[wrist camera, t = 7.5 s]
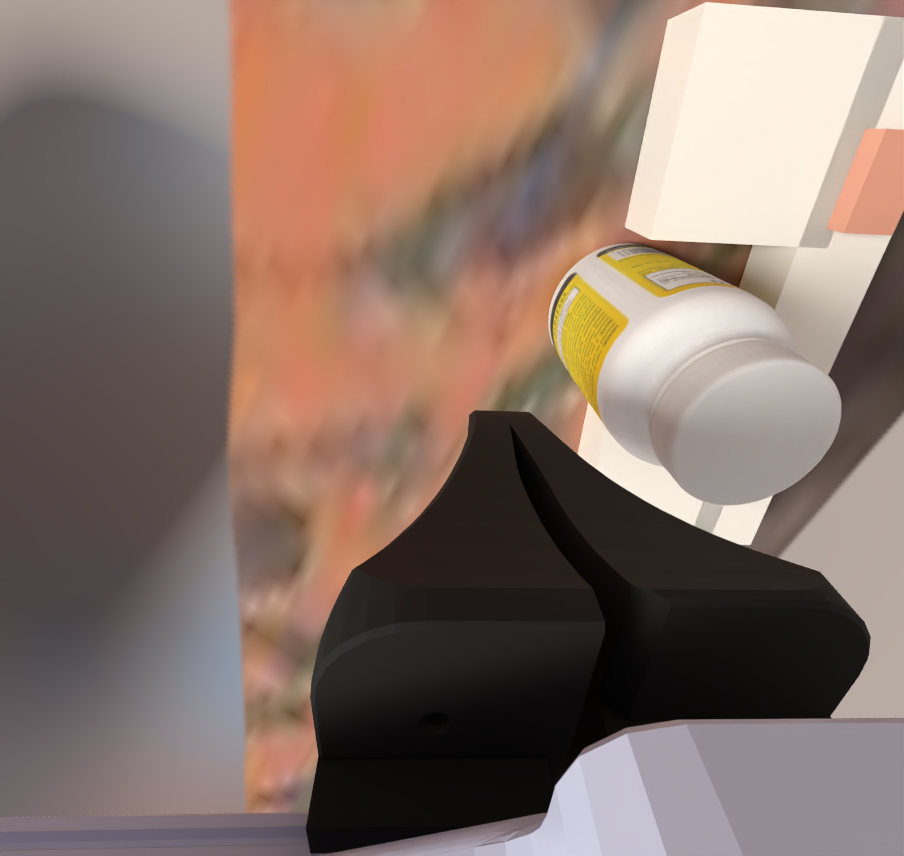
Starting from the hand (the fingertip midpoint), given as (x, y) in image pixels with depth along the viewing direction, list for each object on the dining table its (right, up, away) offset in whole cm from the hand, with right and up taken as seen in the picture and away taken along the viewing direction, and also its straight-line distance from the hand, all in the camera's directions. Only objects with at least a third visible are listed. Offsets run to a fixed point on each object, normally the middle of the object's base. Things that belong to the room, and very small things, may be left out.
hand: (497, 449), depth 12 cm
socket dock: (+9, +5, +9) cm, 14 cm away
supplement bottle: (+5, +5, +9) cm, 12 cm away
